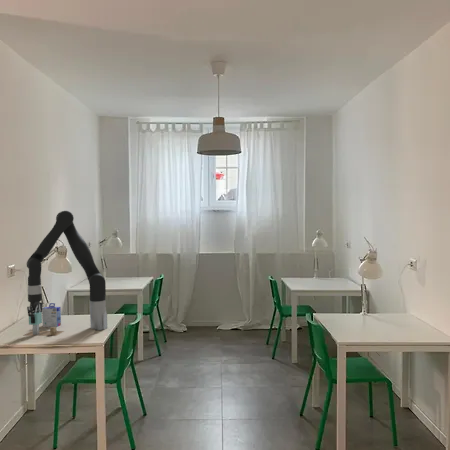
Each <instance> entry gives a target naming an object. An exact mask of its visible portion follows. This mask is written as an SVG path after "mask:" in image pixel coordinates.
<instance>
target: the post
mask: <svg viewBox="0 0 450 450" xmlns="http://www.w3.org/2000/svg"><path fill="white" fill-rule="evenodd" d="M32 331H33V335H39V331H40V324H38V325H32Z"/></svg>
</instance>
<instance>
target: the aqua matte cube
mask: <svg viewBox="0 0 450 450" xmlns="http://www.w3.org/2000/svg"><path fill="white" fill-rule="evenodd" d="M33 314H34V313H33ZM38 324H39V325H41V324H43V319H42V312H36V313H35V323H34V324H32V323H31V317H29V316H28V325H29V326H30V325H32V326H33V325H38Z"/></svg>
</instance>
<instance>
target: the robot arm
mask: <svg viewBox="0 0 450 450" xmlns="http://www.w3.org/2000/svg"><path fill="white" fill-rule="evenodd" d="M62 235H64V236H65V237H66V240H67V242H68V245H69V247H70V249H71V251H72V253H73V255H74V257H75V259H76V260H77V262H78V264H79V265H80V267H82V269H83V271H84V273H85V275H86V278H87V280H88V284H89V317H90V319H89V322H90V324H89V326H90V330H94V331H101V330H102V331H104V330H105V329H106V330H107V328H108V311H107V307H106V306H107V305H106V301H107V300H106V295H107V294H106V292H107V291H106V290H107V289H106V288H107V287H106V279H105V277H104V276H103V274H102V273H101V271H100V269H98V267H97V265H96V263H95V260H94V258H93V255H92V252H91V250H90V248H89V246H88V243H87V242H86V240H85V239H84V238H83V236H81V234H80V233H79V231H78V229H77V228H76V226H75V223H74V215H73V213H72V212H71V211H69V210H62V211H59V212H58V213H57V214H56V217H55V223H54V225H53V227H52V228H51V229H50V231H49V232H48V233H47V235H46V236H44V238H43V239H42V241H41V242H40V243H39V245H38V247H37V248H36V250H35V251H34V252H33V253H32V254H31V256H30V257H29V258H28V259H27V261H26V267H27V268H28V276H27V302H28V303H29V306H27V308H26V310H27V316H28V318H29V317H31V323H32V324H34V323H35V313H36V312H42V308H43V306H44V305H43V304H44V303H43V302H42V300H43V294H42V293H43V292H42V291H43V290H42V289H43V288H42V277H41V276H42V275H41V274H42V261H43V260H44V259H45V258H46V257H48V255H49V254H50V253H51V251H52V250H53V248H54V246H55V244H56V243H57V241H58V240H59V239H60V237H61V236H62ZM33 313H34V314H33Z"/></svg>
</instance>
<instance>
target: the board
mask: <svg viewBox="0 0 450 450" xmlns="http://www.w3.org/2000/svg"><path fill="white" fill-rule="evenodd" d="M64 332H65V330H57V334H56V335H50V330H39V335H33V330H31V331H29V332H27V333H26V334H25V333H24V334H23V335H22V336H25V337H26V336H27V337H28V336H29V337H30V336H32V337H33V336H34V337H35V336H36V337H37V336H38V337H39V336H40V337H42V336H44V337H57V336H58V335H60V334H62V333H64Z"/></svg>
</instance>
